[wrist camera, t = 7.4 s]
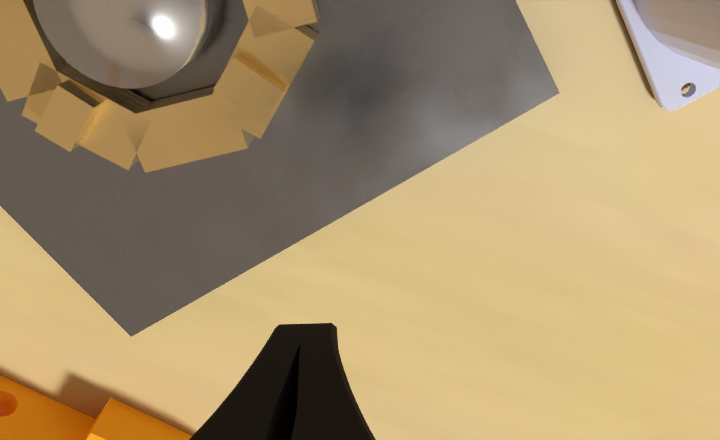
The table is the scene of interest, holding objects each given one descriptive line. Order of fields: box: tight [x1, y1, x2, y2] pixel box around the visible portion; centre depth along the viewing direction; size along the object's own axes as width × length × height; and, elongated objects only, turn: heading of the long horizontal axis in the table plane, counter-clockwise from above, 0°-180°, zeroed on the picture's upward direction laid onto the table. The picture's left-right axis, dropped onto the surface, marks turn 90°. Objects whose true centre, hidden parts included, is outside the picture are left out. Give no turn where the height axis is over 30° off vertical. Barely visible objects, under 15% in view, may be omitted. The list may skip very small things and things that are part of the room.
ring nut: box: [0, 0, 320, 173], centre depth 16 cm, size 11×10×6 cm
